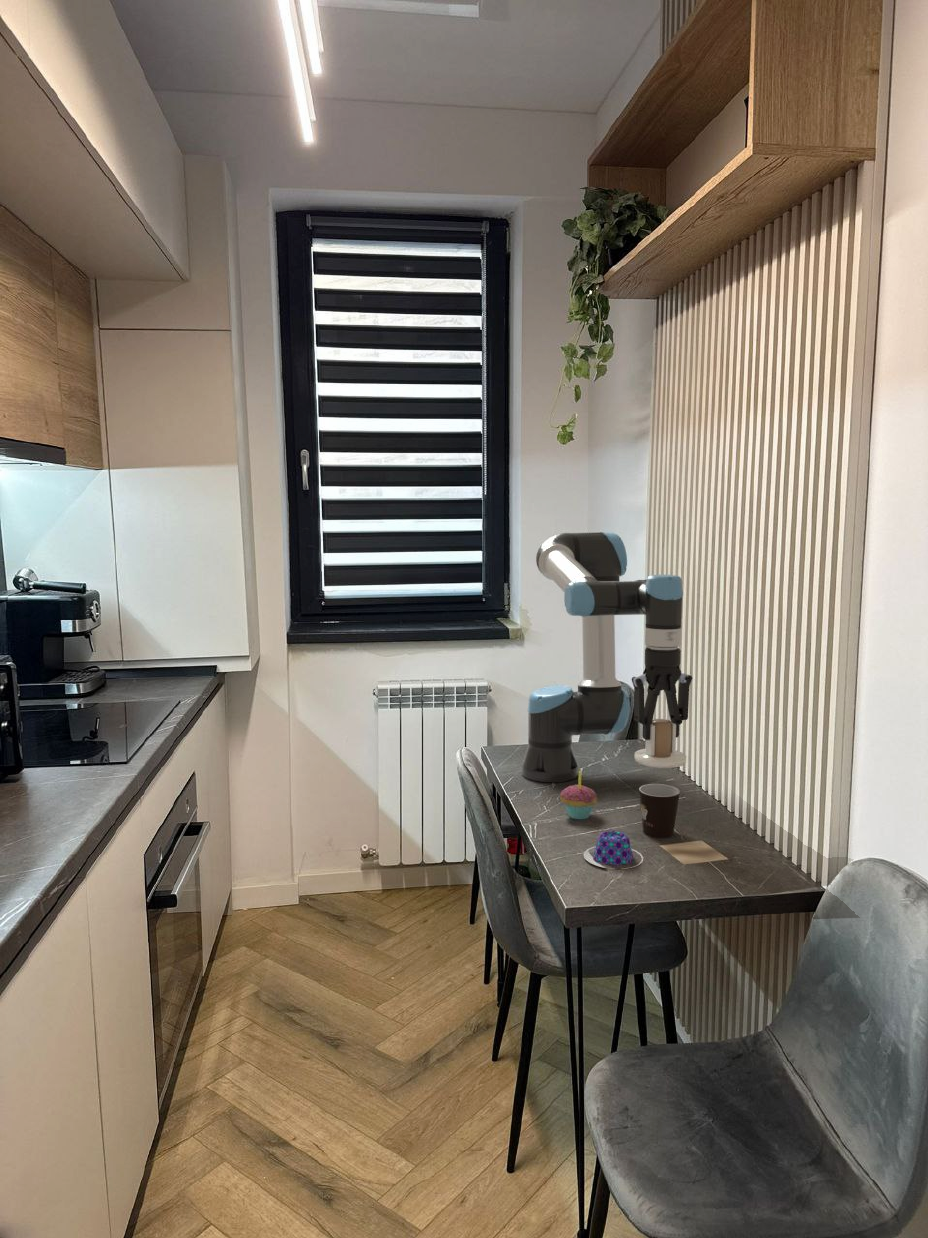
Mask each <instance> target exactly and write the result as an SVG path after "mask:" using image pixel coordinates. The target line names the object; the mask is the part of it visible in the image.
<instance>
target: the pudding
mask: <svg viewBox="0 0 928 1238" xmlns="http://www.w3.org/2000/svg"><path fill="white" fill-rule="evenodd" d="M594 848H595V850H594V852H593V853H594V854H592V853H591V852H590V850H592V849H594ZM633 852H636V853H637V854H638V855H639V856H640V857H641V861H640V862H639V864H636V865H634V866H632V867H629V869H630V868H635V867H637V866H640V864H642V863H643V861H644V856H643V855H642V853H641V852H639V851H637V850H635V849H633V848H632V847H631V842H630V838H629V836H627V835H626V834H625V833H624V832H621V831H620V832H619V831H618V830H617V831H616V830H612V831H611V830H607V831H604V832H602V833H600V834H599V835H598V839H597V842H596V845H595V846H592V847H589V848H588V849H586V850H584V852H583V858H584V859H585V860H586V861H587V862H588V863H589V864H592V865H594V866H596V867H600V868H604V869H607V867H606V866H605V865H614V866H622V865H623V864H630V863H631V862H632V860H634V854H633ZM603 864H605V865H603ZM608 869H609V870H610V869H611V870H612V869H613V870H614V868H610V867H608ZM624 869H628V867H626V868H622V870H624Z"/></svg>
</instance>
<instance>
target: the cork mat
mask: <svg viewBox="0 0 928 1238" xmlns="http://www.w3.org/2000/svg"><path fill="white" fill-rule="evenodd" d="M659 847H660V848H662V849H663V850H664V851H666V852H667V853H668V854H669V855H671V856H672V857H673V858H674V859H676V860H677V861H679V862H680V863H681V864H682V865H683V866H686V865H693V864H701V863H710V862H717V861H718V862H719V861H724V860H725V861H726V860H729V858H727V857H726V856H725V855H723V854H722V853H720V852H719V851H718V850H717V849H715V848H714V847H712V846H710V845H709V844H708V843H706V842H704V841H703V840H693V841H686V842H679V843H670V844H669V843H668V844H662V845H659Z"/></svg>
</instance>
